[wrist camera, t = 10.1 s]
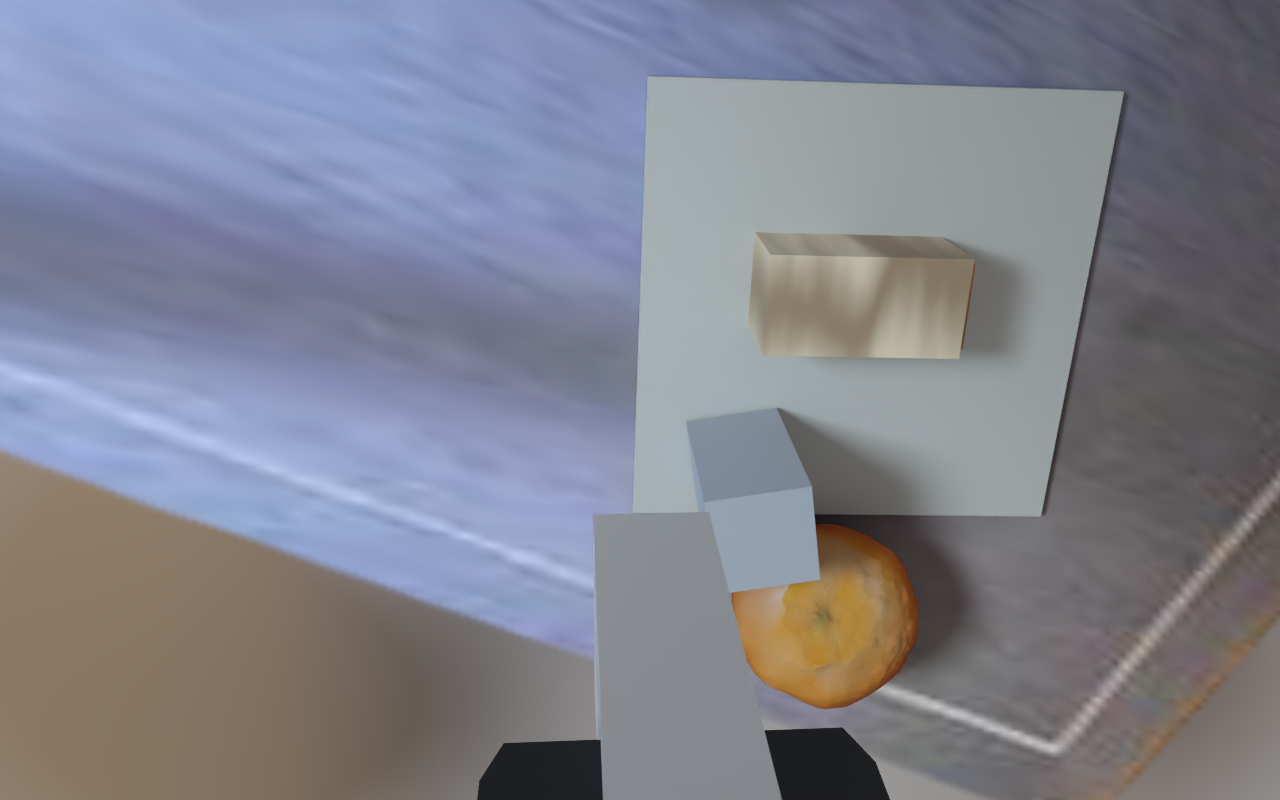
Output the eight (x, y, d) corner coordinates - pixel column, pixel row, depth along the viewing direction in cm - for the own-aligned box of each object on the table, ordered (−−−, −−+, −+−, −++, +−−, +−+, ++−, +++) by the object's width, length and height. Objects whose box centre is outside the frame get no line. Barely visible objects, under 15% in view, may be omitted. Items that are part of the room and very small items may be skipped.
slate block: (685, 419, 45) (704, 502, 38) (775, 406, 45) (811, 486, 38) (696, 499, 47) (716, 594, 39) (783, 487, 47) (820, 579, 39)
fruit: (785, 714, 50) (774, 749, 42) (717, 564, 52) (695, 571, 44) (940, 648, 49) (958, 672, 41) (866, 497, 51) (870, 492, 43)
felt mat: (647, 75, 40) (648, 76, 40) (1119, 90, 41) (1124, 91, 41) (632, 508, 47) (632, 512, 47) (1037, 512, 48) (1040, 516, 48)
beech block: (945, 236, 43) (754, 232, 42) (979, 259, 39) (770, 254, 39) (932, 328, 44) (747, 325, 44) (963, 359, 41) (762, 355, 40)
